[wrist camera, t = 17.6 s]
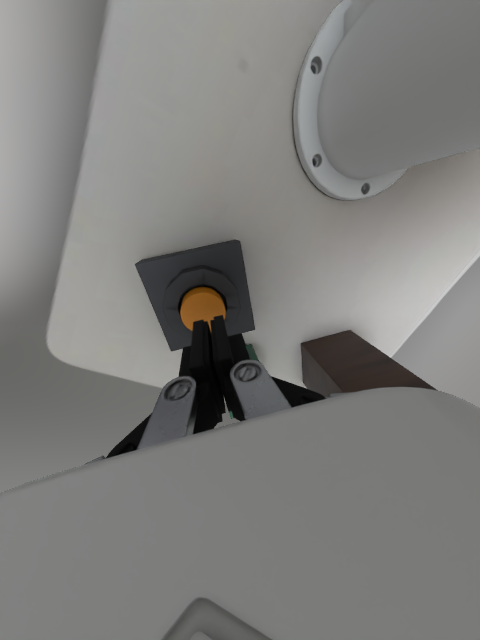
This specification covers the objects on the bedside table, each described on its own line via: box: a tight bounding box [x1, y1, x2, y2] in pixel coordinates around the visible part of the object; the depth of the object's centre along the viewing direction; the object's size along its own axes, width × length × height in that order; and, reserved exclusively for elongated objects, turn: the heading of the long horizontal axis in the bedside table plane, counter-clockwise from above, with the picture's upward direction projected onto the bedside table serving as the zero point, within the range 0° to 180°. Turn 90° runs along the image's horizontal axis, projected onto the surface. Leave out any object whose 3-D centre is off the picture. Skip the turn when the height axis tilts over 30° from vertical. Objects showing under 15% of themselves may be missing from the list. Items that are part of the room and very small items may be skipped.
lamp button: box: [180, 287, 226, 331], centre depth 17 cm, size 4×4×2 cm
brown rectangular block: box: [301, 330, 438, 397], centre depth 23 cm, size 7×7×12 cm
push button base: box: [135, 240, 255, 351], centre depth 19 cm, size 9×9×4 cm
